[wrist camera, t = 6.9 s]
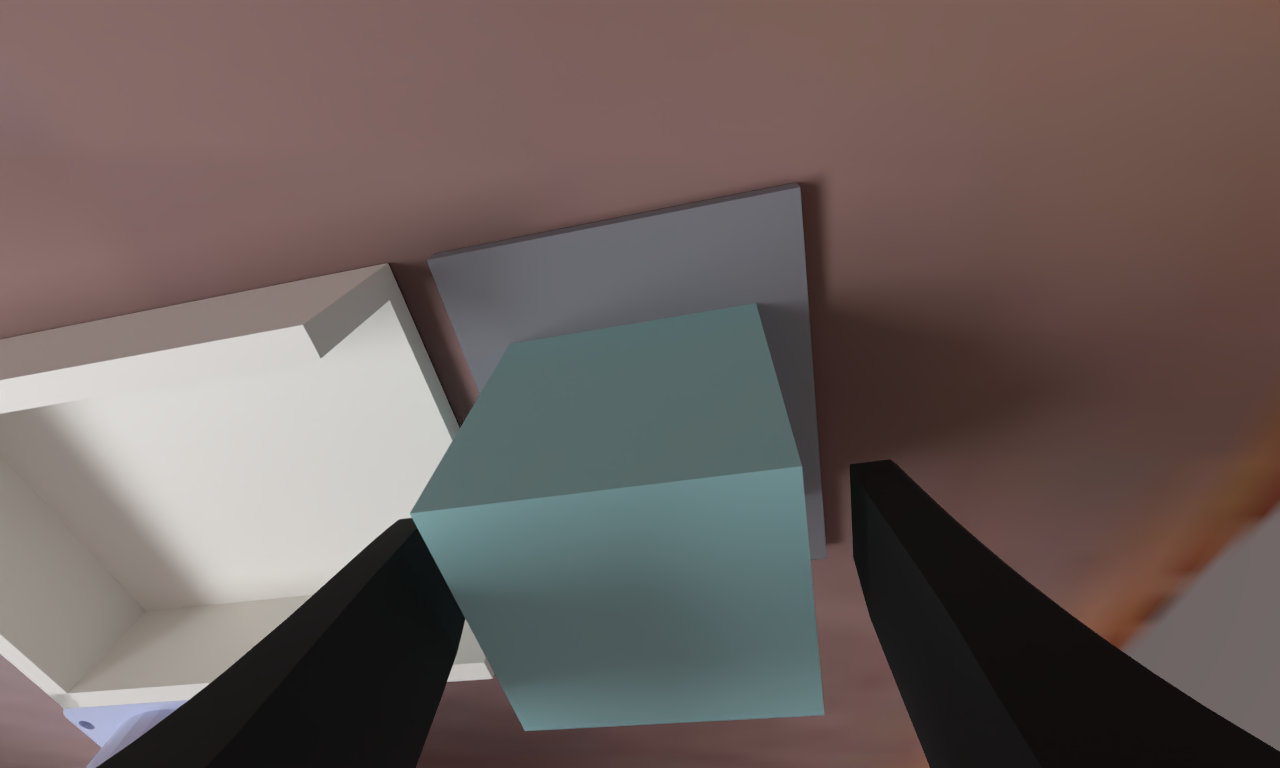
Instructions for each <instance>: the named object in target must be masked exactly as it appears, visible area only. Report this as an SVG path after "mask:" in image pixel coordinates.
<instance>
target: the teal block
mask: <svg viewBox="0 0 1280 768" xmlns="http://www.w3.org/2000/svg"><path fill="white" fill-rule="evenodd" d="M410 515H411V517H412V519H413V521H414V523H415V524H416V526H417V528H418V530H419V532H420V534H421V536H422V538H423V540H424V541H425V543H426V545H427V547H428V549H429V551H430V553H431V555H432V556H433V558H434V560H435V562H436V564H437V566H438V568H439V570H440V572H441V573H442V575H443V577H444V579H445V581H446V583H447V585H448V587H449V589H450V590H451V592H452V594H453V596H454V598H455V600H456V602H457V604H458V606H459V607H460V609H461V611H462V613H463V615H464V617H465V619H466V621H467V623H468V624H469V626H470V628H471V630H472V632H473V634H474V636H475V638H476V640H477V641H478V643H479V645H480V647H481V649H482V651H483V653H484V655H485V657H486V658H487V660H488V662H489V664H490V666H491V668H492V670H493V672H494V674H495V675H496V677H497V679H498V681H499V683H500V685H501V687H502V689H503V690H504V692H505V694H506V696H507V698H508V700H509V702H510V704H511V706H512V707H513V709H514V711H515V713H516V715H517V717H518V719H519V721H520V723H521V724H522V726H523V728H524V730H525V731H536V730H555V729H574V728H592V727H611V726H630V725H648V724H667V723H686V722H704V721H723V720H742V719H760V718H779V717H798V716H816V715H824V704H823V693H822V682H821V671H820V660H819V649H818V638H817V627H816V616H815V605H814V594H813V583H812V572H811V560H810V549H809V538H808V527H807V516H806V505H805V494H804V483H803V472H802V464H801V461H800V457H799V454H798V450H797V447H796V443H795V440H794V436H793V433H792V429H791V426H790V422H789V419H788V415H787V411H786V408H785V404H784V401H783V397H782V394H781V390H780V387H779V383H778V380H777V376H776V373H775V369H774V365H773V362H772V358H771V355H770V351H769V348H768V344H767V341H766V337H765V334H764V330H763V327H762V323H761V319H760V316H759V312H758V309H757V305H756V303H754V304H748V305H742V306H736V307H730V308H724V309H718V310H712V311H706V312H700V313H694V314H688V315H682V316H676V317H670V318H664V319H658V320H652V321H646V322H640V323H634V324H628V325H622V326H616V327H609V328H603V329H597V330H591V331H585V332H579V333H573V334H567V335H561V336H555V337H549V338H543V339H537V340H531V341H525V342H519V343H513V344H509V346H508V348H507V349H506V351H505V353H504V354H503V356H502V358H501V360H500V361H499V363H498V365H497V366H496V368H495V370H494V371H493V373H492V375H491V376H490V378H489V380H488V382H487V383H486V385H485V387H484V388H483V390H482V392H481V393H480V395H479V397H478V399H477V400H476V402H475V404H474V405H473V407H472V409H471V410H470V412H469V414H468V415H467V417H466V419H465V421H464V422H463V424H462V426H461V427H460V429H459V431H458V432H457V434H456V436H455V438H454V439H453V441H452V443H451V444H450V446H449V448H448V449H447V451H446V453H445V454H444V456H443V458H442V460H441V461H440V463H439V465H438V466H437V468H436V470H435V471H434V473H433V475H432V477H431V478H430V480H429V482H428V483H427V485H426V487H425V488H424V490H423V492H422V493H421V495H420V497H419V499H418V500H417V502H416V504H415V505H414V507H413V509H412V510H411V512H410Z"/></svg>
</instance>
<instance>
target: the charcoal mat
mask: <svg viewBox="0 0 1280 768" xmlns="http://www.w3.org/2000/svg"><path fill="white" fill-rule="evenodd" d="M426 261H427V263H428V266H429V268H430V271H431V273H432V276H433V278H434V281H435V283H436V286H437V288H438V291H439V293H440V296H441V298H442V301H443V303H444V306H445V308H446V311H447V313H448V316H449V318H450V321H451V323H452V326H453V328H454V331H455V333H456V336H457V338H458V341H459V343H460V346H461V348H462V351H463V353H464V356H465V358H466V361H467V363H468V366H469V368H470V371H471V373H472V376H473V378H474V381H475V383H476V386H477V388H478V391H479V393H481V392H482V390H483V388H484V387H485V385H486V383H487V382H488V380H489V378H490V376H491V375H492V373H493V371H494V370H495V368H496V366H497V365H498V363H499V361H500V360H501V358H502V356H503V354H504V353H505V351H506V349H507V348H508V346H509V344H513V343H519V342H525V341H531V340H537V339H543V338H549V337H555V336H561V335H567V334H573V333H579V332H585V331H591V330H597V329H603V328H609V327H616V326H622V325H628V324H634V323H640V322H646V321H652V320H658V319H664V318H670V317H676V316H682V315H688V314H694V313H700V312H706V311H712V310H718V309H724V308H730V307H736V306H742V305H748V304H754V303H756V305H757V309H758V312H759V316H760V319H761V323H762V327H763V330H764V334H765V337H766V341H767V344H768V348H769V351H770V355H771V358H772V362H773V365H774V369H775V373H776V376H777V380H778V383H779V387H780V390H781V394H782V397H783V401H784V404H785V408H786V411H787V415H788V419H789V422H790V426H791V429H792V433H793V436H794V440H795V443H796V447H797V450H798V454H799V457H800V461H801V464H802V472H803V483H804V494H805V505H806V516H807V527H808V538H809V549H810V560H816V559H826V558H827V554H826V540H825V526H824V512H823V498H822V484H821V470H820V456H819V442H818V428H817V414H816V400H815V386H814V372H813V358H812V344H811V330H810V316H809V302H808V288H807V274H806V260H805V246H804V232H803V218H802V204H801V190H800V186H799V185H798V184H797V183H791V184H786V185H781V186H776V187H771V188H766V189H761V190H756V191H751V192H745V193H740V194H735V195H730V196H725V197H720V198H715V199H710V200H705V201H700V202H695V203H690V204H685V205H680V206H674V207H669V208H664V209H659V210H654V211H649V212H644V213H639V214H634V215H629V216H624V217H619V218H614V219H609V220H603V221H598V222H593V223H588V224H583V225H578V226H573V227H568V228H563V229H558V230H553V231H548V232H543V233H538V234H532V235H527V236H522V237H517V238H512V239H507V240H502V241H497V242H492V243H487V244H482V245H477V246H472V247H467V248H461V249H456V250H451V251H446V252H441V253H436V254H433V255H432V256H431V257H430V258H429V259H427V260H426Z"/></svg>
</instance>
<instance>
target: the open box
mask: <svg viewBox="0 0 1280 768" xmlns="http://www.w3.org/2000/svg"><path fill="white" fill-rule="evenodd" d="M459 429H460V428H459V425H458V423H457V421H456V418H455V416H454V414H453V411H452V409H451V407H450V405H449V402H448V400H447V398H446V395H445V393H444V391H443V388H442V386H441V384H440V381H439V379H438V377H437V375H436V372H435V370H434V368H433V365H432V363H431V361H430V358H429V356H428V354H427V351H426V349H425V347H424V345H423V342H422V340H421V338H420V335H419V333H418V331H417V328H416V326H415V324H414V321H413V319H412V317H411V315H410V312H409V310H408V308H407V305H406V303H405V301H404V298H403V296H402V294H401V292H400V289H399V287H398V285H397V282H396V280H395V278H394V275H393V273H392V271H391V268H390V266H389V264H388V263H385V264H380V265H375V266H370V267H365V268H360V269H355V270H350V271H345V272H340V273H335V274H330V275H324V276H319V277H314V278H309V279H304V280H299V281H294V282H289V283H284V284H279V285H274V286H269V287H264V288H259V289H253V290H248V291H243V292H238V293H233V294H228V295H223V296H218V297H213V298H208V299H203V300H198V301H193V302H188V303H182V304H177V305H172V306H167V307H162V308H157V309H152V310H147V311H142V312H137V313H132V314H127V315H122V316H116V317H111V318H106V319H101V320H96V321H91V322H86V323H81V324H76V325H71V326H66V327H61V328H56V329H51V330H45V331H40V332H35V333H30V334H25V335H20V336H15V337H10V338H5V339H0V654H1V655H3V656H4V657H5V658H6V659H7V660H8V661H10V662H11V663H12V664H13V665H14V666H15V667H17V668H18V669H19V670H20V671H21V672H22V673H24V674H25V675H26V676H27V677H28V678H29V679H31V680H32V681H33V682H34V683H35V684H36V685H38V686H39V687H40V688H41V689H42V690H43V691H44V692H46V693H47V694H48V695H49V696H50V697H51V698H53V699H54V700H55V701H56V702H57V703H58V704H60V705H61V706H62V707H63V708H64V709H65V708H80V707H94V706H108V705H123V704H137V703H152V702H166V701H180V700H190V699H191V698H192V697H193V696H195V695H196V694H197V693H198V692H200V691H201V690H202V689H204V688H205V687H206V686H207V685H209V684H210V683H211V682H212V681H214V680H215V679H216V678H217V677H218V676H220V675H221V674H222V673H223V672H225V671H226V670H227V669H228V668H229V667H231V666H232V665H233V664H234V663H235V662H236V661H238V660H239V659H240V658H241V657H242V656H243V655H245V654H246V653H247V652H248V651H249V650H251V649H252V648H253V647H254V646H255V645H256V644H258V643H259V642H260V641H261V640H262V639H263V638H265V637H266V636H267V635H268V634H269V633H270V632H272V631H273V630H274V629H275V628H276V627H277V626H279V625H280V624H281V623H282V622H283V621H285V620H286V619H287V618H288V617H289V616H290V615H291V614H292V613H294V612H295V611H296V610H297V609H298V608H299V607H300V606H301V605H302V604H304V603H305V602H306V601H307V600H308V599H309V598H310V597H311V596H312V595H314V594H315V593H316V592H317V591H318V590H319V589H320V588H321V587H322V586H324V585H325V584H326V583H327V582H328V581H329V580H330V579H331V578H332V577H333V576H335V575H336V574H337V573H338V572H339V571H340V570H341V569H342V568H343V567H344V566H346V565H347V564H348V563H349V562H350V561H351V560H352V559H353V558H354V557H356V556H357V555H358V554H359V553H360V552H361V551H362V550H363V549H364V548H366V547H367V546H368V545H369V544H370V543H371V542H372V541H373V540H375V539H376V538H377V537H378V536H379V535H380V534H382V533H383V532H384V531H385V530H386V529H388V528H389V527H390V526H391V525H393V524H394V523H395V522H396V521H398V520H399V519H406V518H412V517H411V515H410V512H411V510H412V509H413V507H414V505H415V504H416V502H417V500H418V499H419V497H420V495H421V493H422V492H423V490H424V488H425V487H426V485H427V483H428V482H429V480H430V478H431V477H432V475H433V473H434V471H435V470H436V468H437V466H438V465H439V463H440V461H441V460H442V458H443V456H444V454H445V453H446V451H447V449H448V448H449V446H450V444H451V443H452V441H453V439H454V438H455V436H456V434H457V432H458V431H459ZM493 676H494V672H493V670H492V668H491V666H490V664H489V662H488V660H487V658H486V657H485V655H484V653H483V651H482V649H481V647H480V645H479V643H478V641H477V640H476V638H475V636H474V634H473V632H472V630H471V628H470V626H469V624H468V623H467V621H466V619H465V623H464V627H463V631H462V635H461V639H460V643H459V648H458V652H457V654H456V657H455V660H454V663H453V666H452V669H451V672H450V675H449V677H448V680H447V682H454V681H468V680H483V679H493Z"/></svg>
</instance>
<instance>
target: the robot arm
mask: <svg viewBox="0 0 1280 768" xmlns="http://www.w3.org/2000/svg"><path fill="white" fill-rule="evenodd" d="M850 485H851V509H852V533H853V557H854V561H855V565H856V568H857V572H858V576H859V579H860V583H861V587H862V590H863V594H864V597H865V601H866V604H867V608H868V611H869V615H870V618H871V621H872V623H873V626H874V628H875V631H876V634H877V636H878V639H879V641H880V644H881V646H882V649H883V651H884V654H885V656H886V659H887V661H888V664H889V666H890V669H891V671H892V674H893V676H894V679H895V681H896V684H897V686H898V689H899V691H900V694H901V696H902V699H903V701H904V704H905V706H906V709H907V711H908V713H909V716H910V718H911V721H912V723H913V726H914V728H915V731H916V733H917V736H918V738H919V741H920V743H921V746H922V748H923V751H924V753H925V756H926V758H927V761H928V763H929V766H930V768H1280V751H1278V750H1276V749H1274V748H1273V747H1271V746H1270V745H1268V744H1266V743H1264V742H1263V741H1261V740H1260V739H1258V738H1256V737H1255V736H1253V735H1251V734H1250V733H1248V732H1246V731H1245V730H1243V729H1241V728H1240V727H1238V726H1236V725H1235V724H1233V723H1231V722H1230V721H1228V720H1226V719H1225V718H1223V717H1221V716H1220V715H1218V714H1216V713H1215V712H1213V711H1211V710H1210V709H1208V708H1206V707H1205V706H1203V705H1202V704H1200V703H1199V702H1197V701H1196V700H1194V699H1193V698H1191V697H1190V696H1188V695H1186V694H1185V693H1183V692H1182V691H1180V690H1179V689H1177V688H1176V687H1174V686H1173V685H1171V684H1170V683H1168V682H1166V681H1165V680H1163V679H1162V678H1160V677H1159V676H1157V675H1156V674H1154V673H1153V672H1151V671H1150V670H1148V669H1147V668H1146V667H1144V666H1142V665H1141V664H1140V663H1138V662H1137V661H1135V660H1134V659H1132V658H1131V657H1130V656H1128V655H1127V654H1125V653H1124V652H1122V651H1121V650H1119V649H1118V648H1116V647H1115V646H1114V645H1112V644H1111V643H1109V642H1108V641H1106V640H1105V639H1104V638H1102V637H1101V636H1099V635H1098V634H1097V633H1095V632H1094V631H1093V630H1091V629H1090V628H1088V627H1087V626H1086V625H1084V624H1083V623H1082V622H1080V621H1079V620H1078V619H1076V618H1075V617H1073V616H1072V615H1071V614H1069V613H1068V612H1067V611H1065V610H1064V609H1063V608H1061V607H1060V606H1059V605H1058V604H1056V603H1055V602H1054V601H1052V600H1051V599H1050V598H1049V597H1047V596H1046V595H1045V594H1043V593H1042V592H1041V591H1040V590H1038V589H1037V588H1036V587H1034V586H1033V585H1032V584H1031V583H1029V582H1028V581H1027V580H1026V579H1024V578H1023V577H1022V576H1021V575H1019V574H1018V573H1017V572H1016V571H1014V570H1013V569H1012V568H1011V567H1010V566H1008V565H1007V564H1006V563H1005V562H1003V561H1002V560H1001V559H1000V558H999V557H998V556H996V555H995V554H994V553H993V552H992V551H991V550H989V549H988V548H987V547H986V546H985V545H984V544H982V543H981V542H980V541H979V540H978V539H976V538H975V537H974V536H973V535H972V534H971V533H969V532H968V531H967V530H966V529H965V528H964V527H963V526H962V525H960V524H959V523H958V522H957V521H956V520H955V519H954V518H953V517H952V516H950V515H949V514H948V513H947V512H946V511H945V510H944V509H943V508H942V507H941V506H940V505H939V504H937V503H936V502H935V501H934V500H933V499H932V498H931V497H930V496H929V495H928V494H927V493H926V492H925V491H924V490H923V489H922V488H920V487H919V486H918V485H917V484H916V483H915V482H914V481H913V480H912V479H911V478H910V477H909V476H908V475H907V474H906V473H905V472H904V471H903V470H902V469H901V468H900V467H899V466H898V465H897V464H895V463H894V462H893V461H891V460H882V461H874V462H866V463H858V464H850ZM464 623H465V617H464V615H463V613H462V611H461V609H460V607H459V606H458V604H457V602H456V600H455V598H454V596H453V594H452V592H451V590H450V589H449V587H448V585H447V583H446V581H445V579H444V577H443V575H442V573H441V572H440V570H439V568H438V566H437V564H436V562H435V560H434V558H433V556H432V555H431V553H430V551H429V549H428V547H427V545H426V543H425V541H424V540H423V538H422V536H421V534H420V532H419V530H418V528H417V526H416V524H415V523H414V521H413V519H412V518H406V519H399V520H398V521H396V522H395V523H394V524H393V525H391V526H390V527H389V528H388V529H386V530H385V531H384V532H383V533H382V534H380V535H379V536H378V537H377V538H376V539H375V540H373V541H372V542H371V543H370V544H369V545H368V546H367V547H366V548H364V549H363V550H362V551H361V552H360V553H359V554H358V555H357V556H356V557H354V558H353V559H352V560H351V561H350V562H349V563H348V564H347V565H346V566H344V567H343V568H342V569H341V570H340V571H339V572H338V573H337V574H336V575H335V576H333V577H332V578H331V579H330V580H329V581H328V582H327V583H326V584H325V585H324V586H322V587H321V588H320V589H319V590H318V591H317V592H316V593H315V594H314V595H312V596H311V597H310V598H309V599H308V600H307V601H306V602H305V603H304V604H302V605H301V606H300V607H299V608H298V609H297V610H296V611H295V612H294V613H292V614H291V615H290V616H289V617H288V618H287V619H286V620H285V621H283V622H282V623H281V624H280V625H279V626H277V627H276V628H275V629H274V630H273V631H272V632H270V633H269V634H268V635H267V636H266V637H265V638H263V639H262V640H261V641H260V642H259V643H258V644H256V645H255V646H254V647H253V648H252V649H251V650H249V651H248V652H247V653H246V654H245V655H243V656H242V657H241V658H240V659H239V660H238V661H236V662H235V663H234V664H233V665H232V666H231V667H229V668H228V669H227V670H226V671H225V672H223V673H222V674H221V675H220V676H218V677H217V678H216V679H215V680H214V681H212V682H211V683H210V684H209V685H207V686H206V687H205V688H204V689H202V690H201V691H200V692H198V693H197V694H196V695H195V696H193V697H192V698H191V699H190V700H180V701H166V702H152V703H137V704H123V705H108V706H94V707H80V708H65V709H64V710H63V713H64V716H65V717H66V718H67V719H69V720H70V721H71V722H72V723H73V724H74V725H76V726H77V727H78V728H79V729H80V730H81V731H83V732H84V733H85V734H86V735H87V736H89V737H90V738H91V739H92V740H93V741H94V742H96V743H97V744H98V745H99V746H100V747H101V750H100V751H99V752H98V753H97V754H96V756H95V757H94V758H93V759H92V760H91V762H90V763H89V764H88V765H87V766H86V768H416V765H417V762H418V759H419V757H420V754H421V751H422V749H423V746H424V743H425V740H426V738H427V735H428V732H429V730H430V727H431V724H432V721H433V719H434V716H435V713H436V711H437V708H438V705H439V702H440V700H441V697H442V694H443V691H444V689H445V686H446V683H447V680H448V677H449V675H450V672H451V669H452V666H453V663H454V660H455V657H456V654H457V652H458V648H459V643H460V639H461V635H462V631H463V627H464Z"/></svg>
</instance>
